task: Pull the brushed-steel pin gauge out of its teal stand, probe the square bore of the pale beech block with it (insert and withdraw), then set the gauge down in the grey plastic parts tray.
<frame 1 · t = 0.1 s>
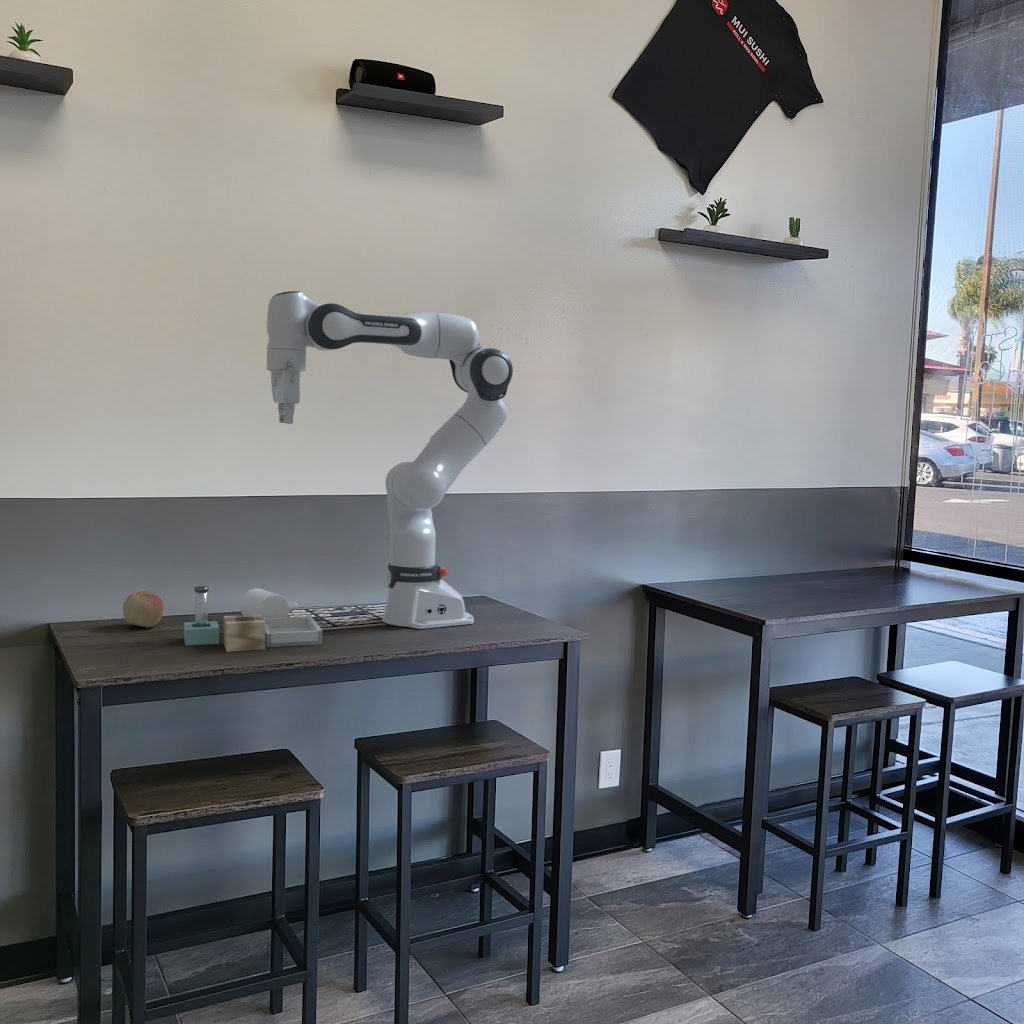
hand: (286, 423, 230), 48 cm above the table, fingers open, 8 cm apart
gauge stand: (201, 640, 219), on the table
pin gauge: (201, 614, 218), in the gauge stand
beech block: (244, 646, 215), on the table
tray: (289, 637, 224), on the table
apple: (143, 627, 230), on the table
mug: (272, 624, 239), on the table
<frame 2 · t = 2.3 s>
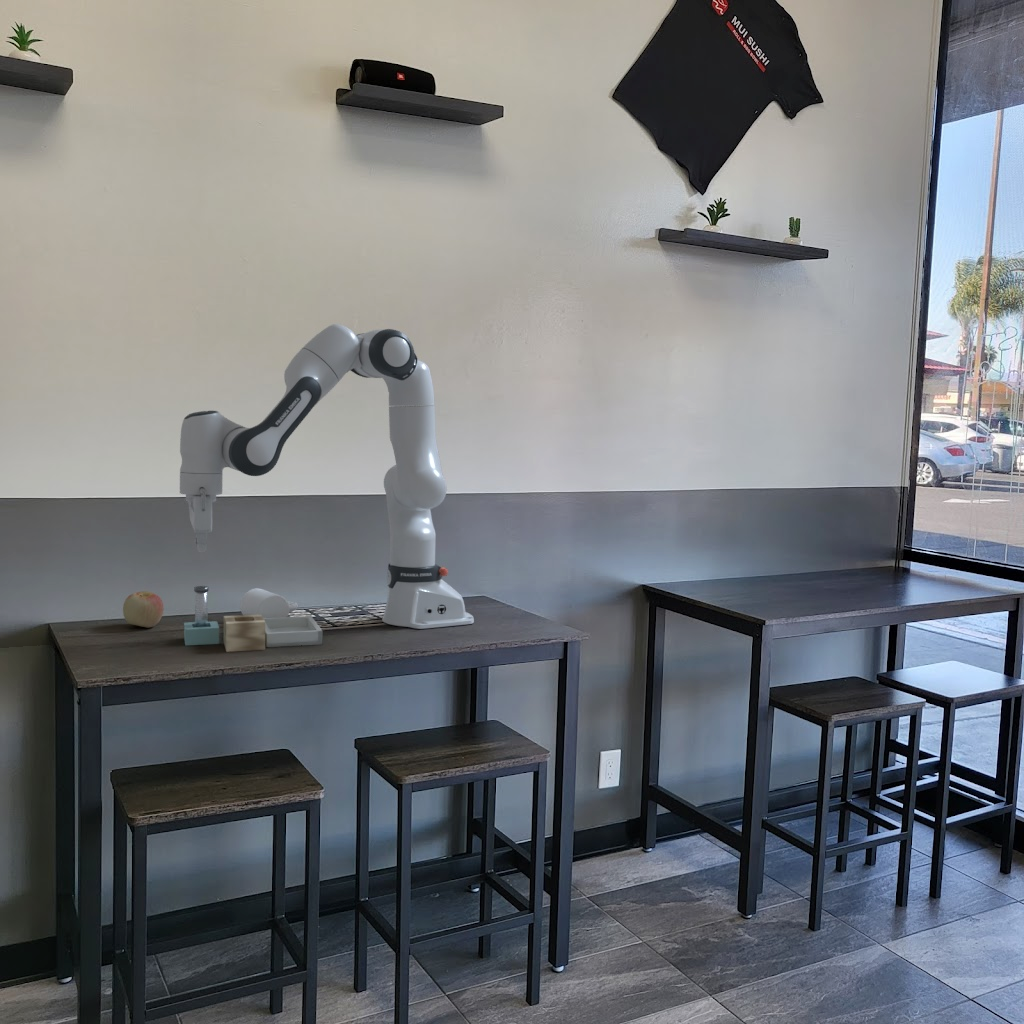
hand: (200, 549, 217), 20 cm above the table, fingers open, 8 cm apart
nothing on the table moved.
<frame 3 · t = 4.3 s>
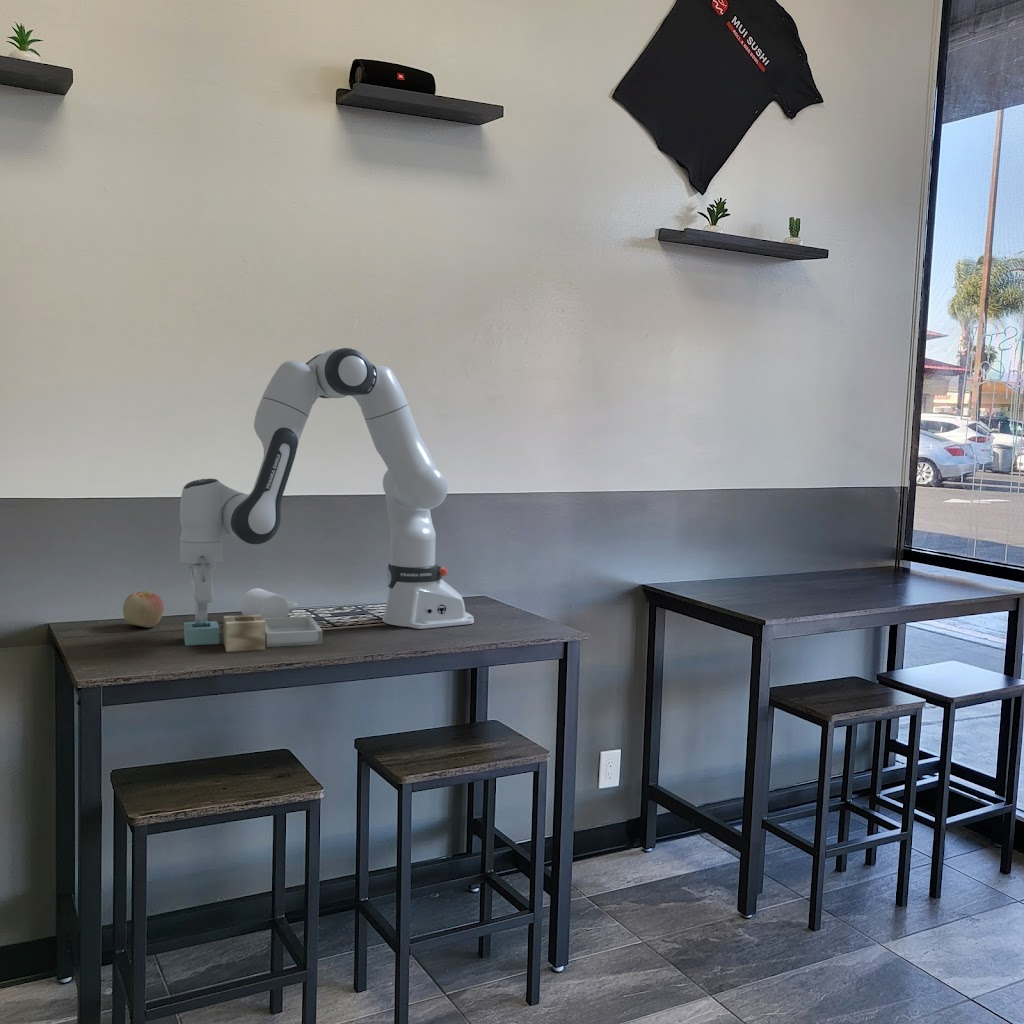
hand: (201, 615, 218), 6 cm above the table, fingers closed on pin gauge, 3 cm apart
pin gauge: (201, 614, 218), in the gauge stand, touching gripper
everything else where it was.
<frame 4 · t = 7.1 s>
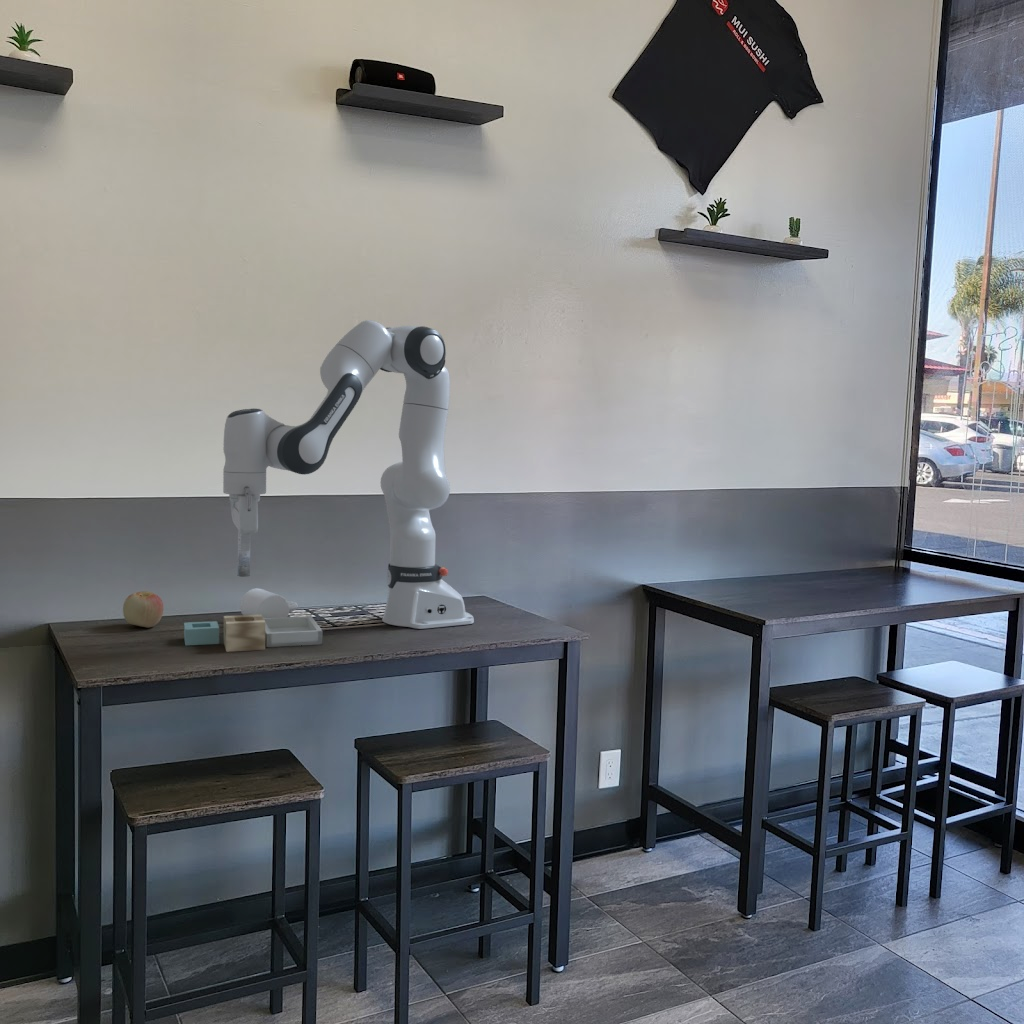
hand: (244, 549, 213), 21 cm above the table, fingers closed on pin gauge, 3 cm apart
pin gauge: (244, 548, 213), point 22 cm above the table, touching gripper
everything else where it was.
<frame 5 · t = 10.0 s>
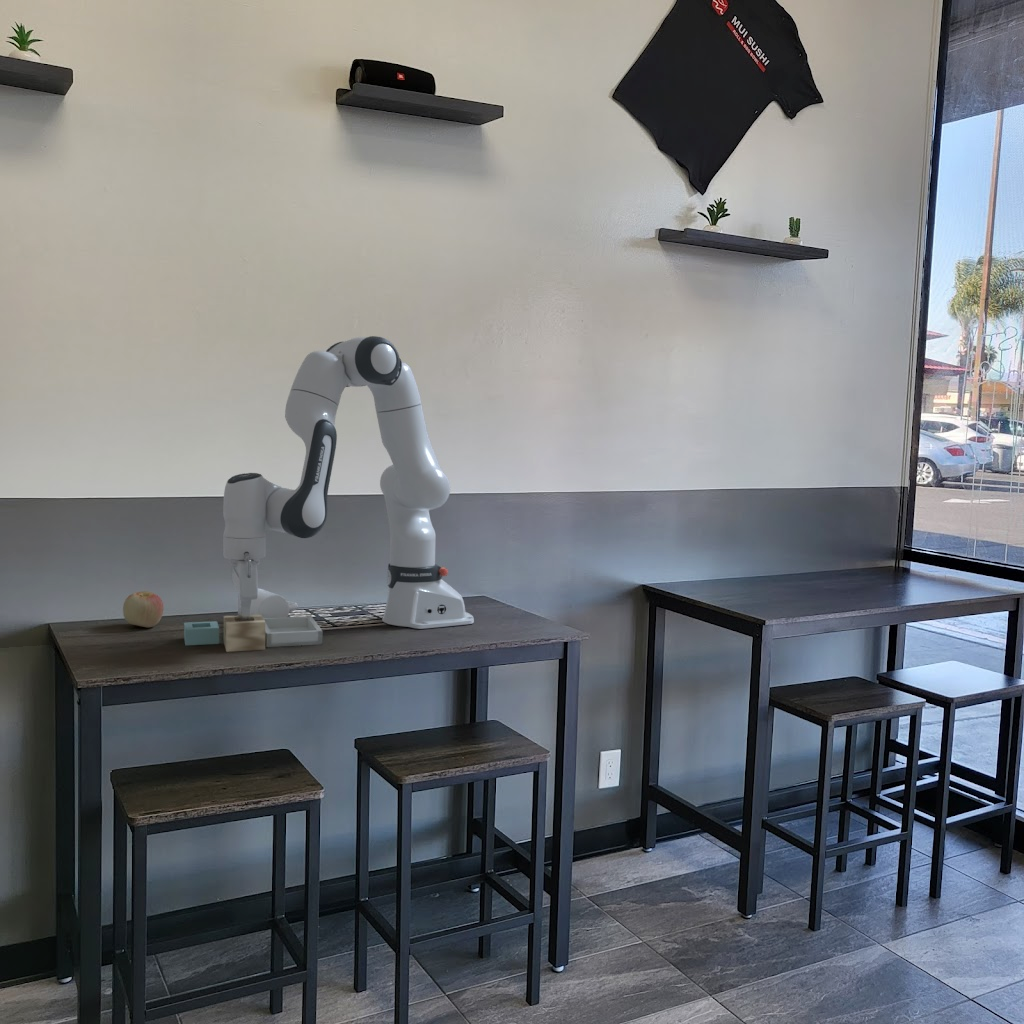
hand: (244, 612, 214), 7 cm above the table, fingers closed on pin gauge, 3 cm apart
pin gauge: (244, 611, 214), point 8 cm above the table, touching gripper
everything else where it was.
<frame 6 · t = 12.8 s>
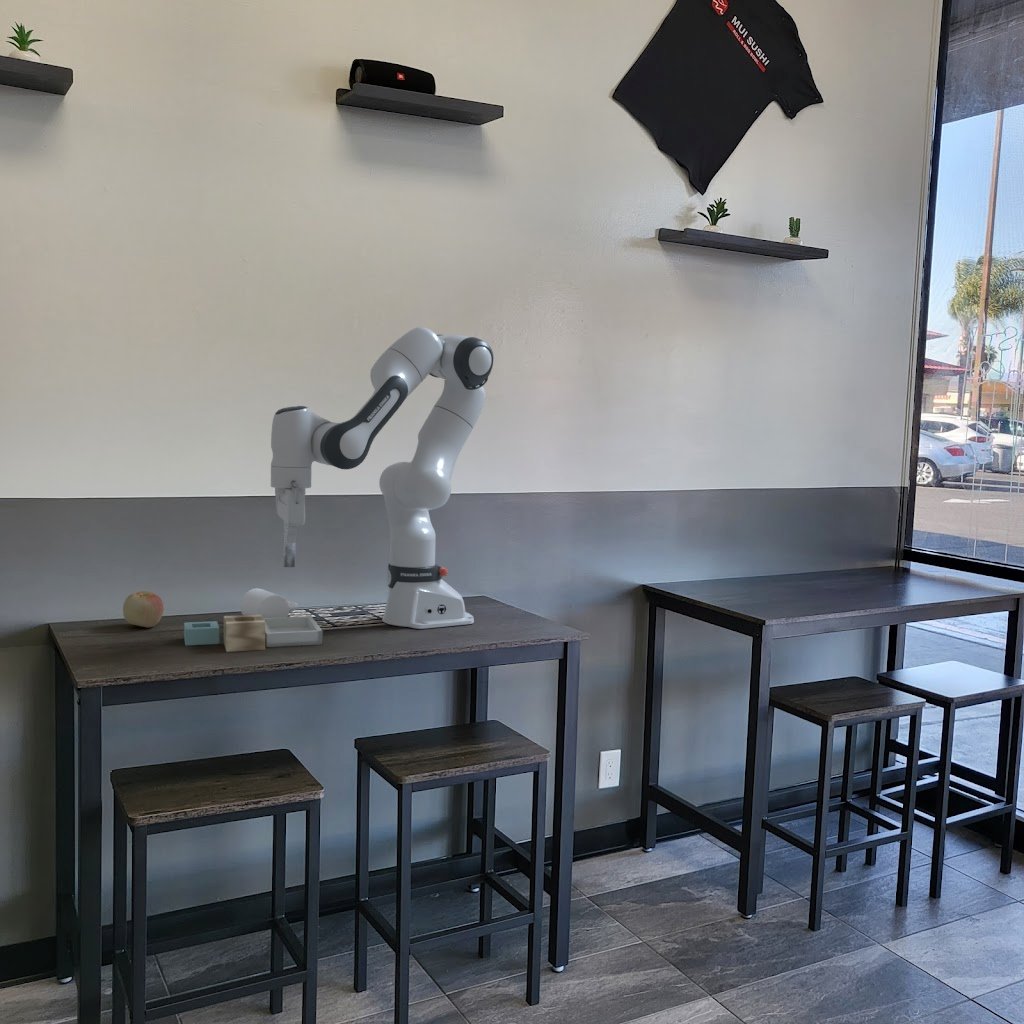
hand: (290, 541, 222), 22 cm above the table, fingers closed on pin gauge, 3 cm apart
pin gauge: (289, 539, 222), point 22 cm above the table, touching gripper
everything else where it was.
when the fingers open (7 cm above the table, at t = 15.5 s): pin gauge stays where it is, resting on tray.
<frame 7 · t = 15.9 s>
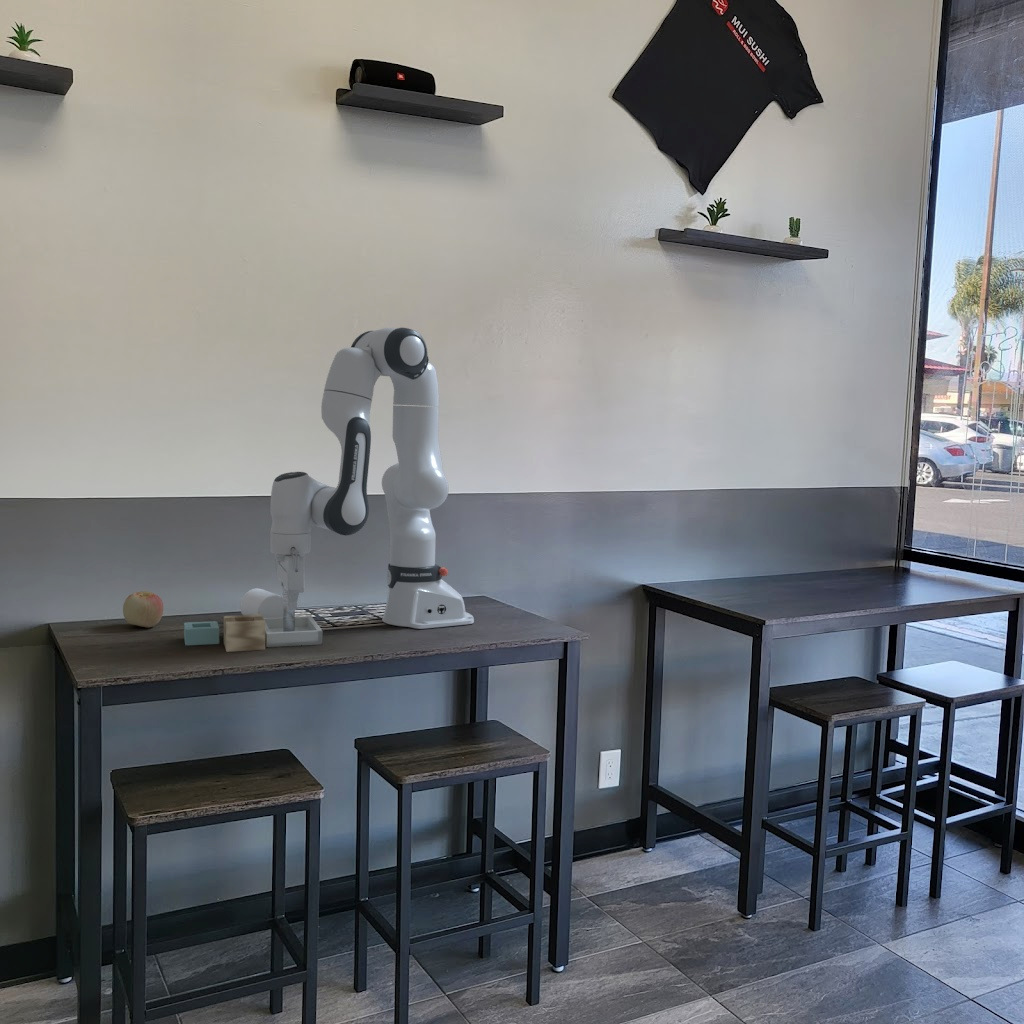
hand: (290, 605, 224), 7 cm above the table, fingers open, 6 cm apart
pin gauge: (288, 607, 224), in the tray, point 7 cm above the table
everything else where it was.
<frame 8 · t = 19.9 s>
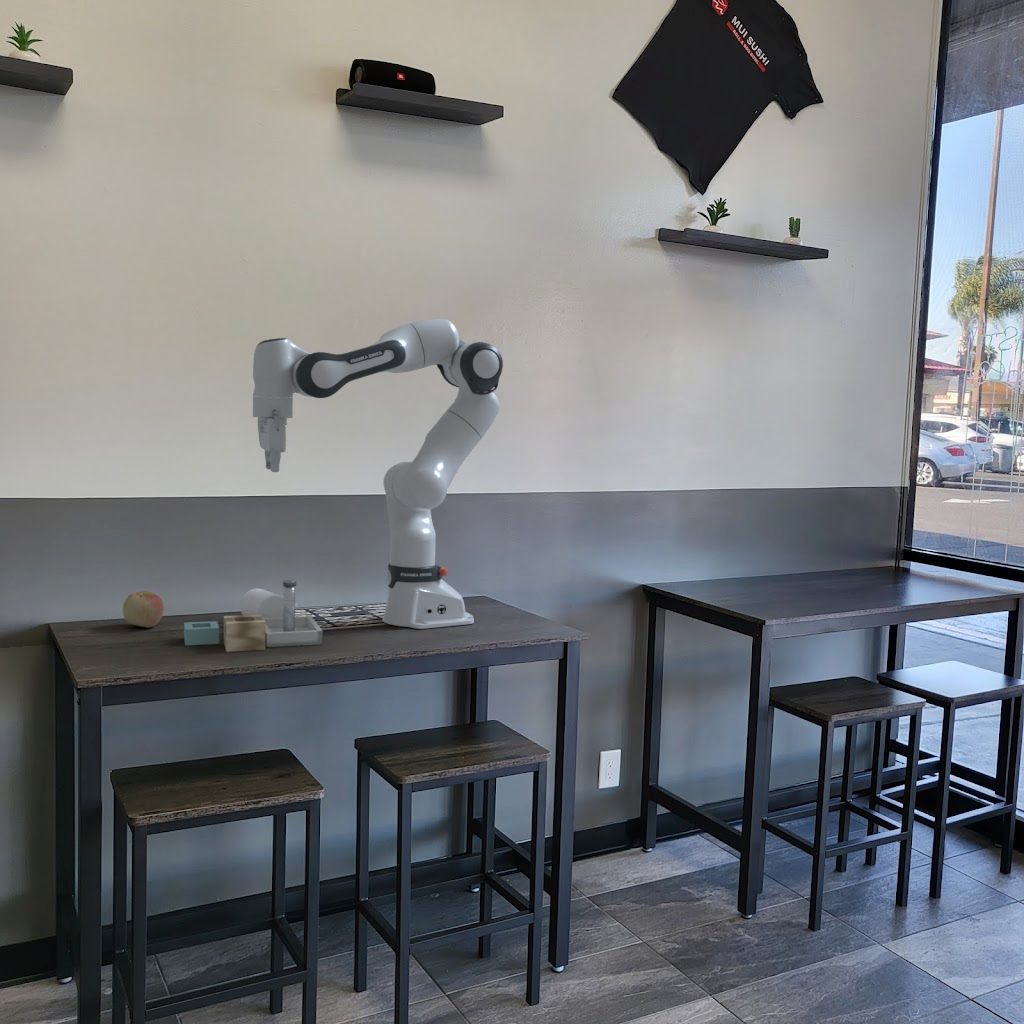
hand: (272, 470, 228), 37 cm above the table, fingers open, 8 cm apart
nothing on the table moved.
at the end: pin gauge inside the target area on the tray (0.1 cm from its centre), point 6.8 cm above the tray's base; the gripper is holding nothing; pin gauge moved 18.9 cm from its start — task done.
